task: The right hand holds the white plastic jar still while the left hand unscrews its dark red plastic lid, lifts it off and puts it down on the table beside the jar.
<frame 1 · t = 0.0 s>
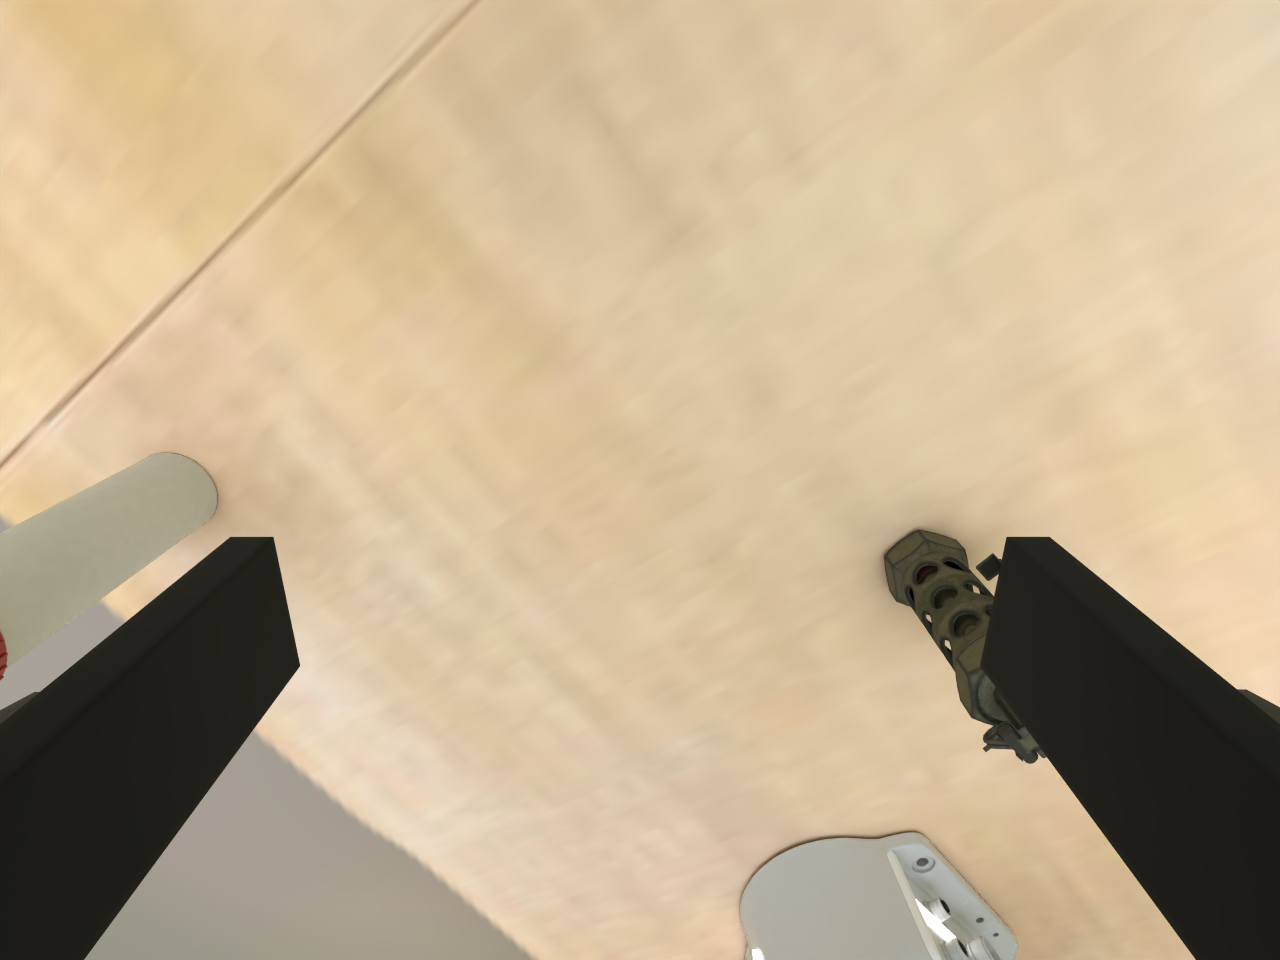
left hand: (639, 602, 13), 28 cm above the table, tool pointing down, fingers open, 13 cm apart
jar: (176, 490, 42), on the table
grenade: (940, 559, 44), on the table
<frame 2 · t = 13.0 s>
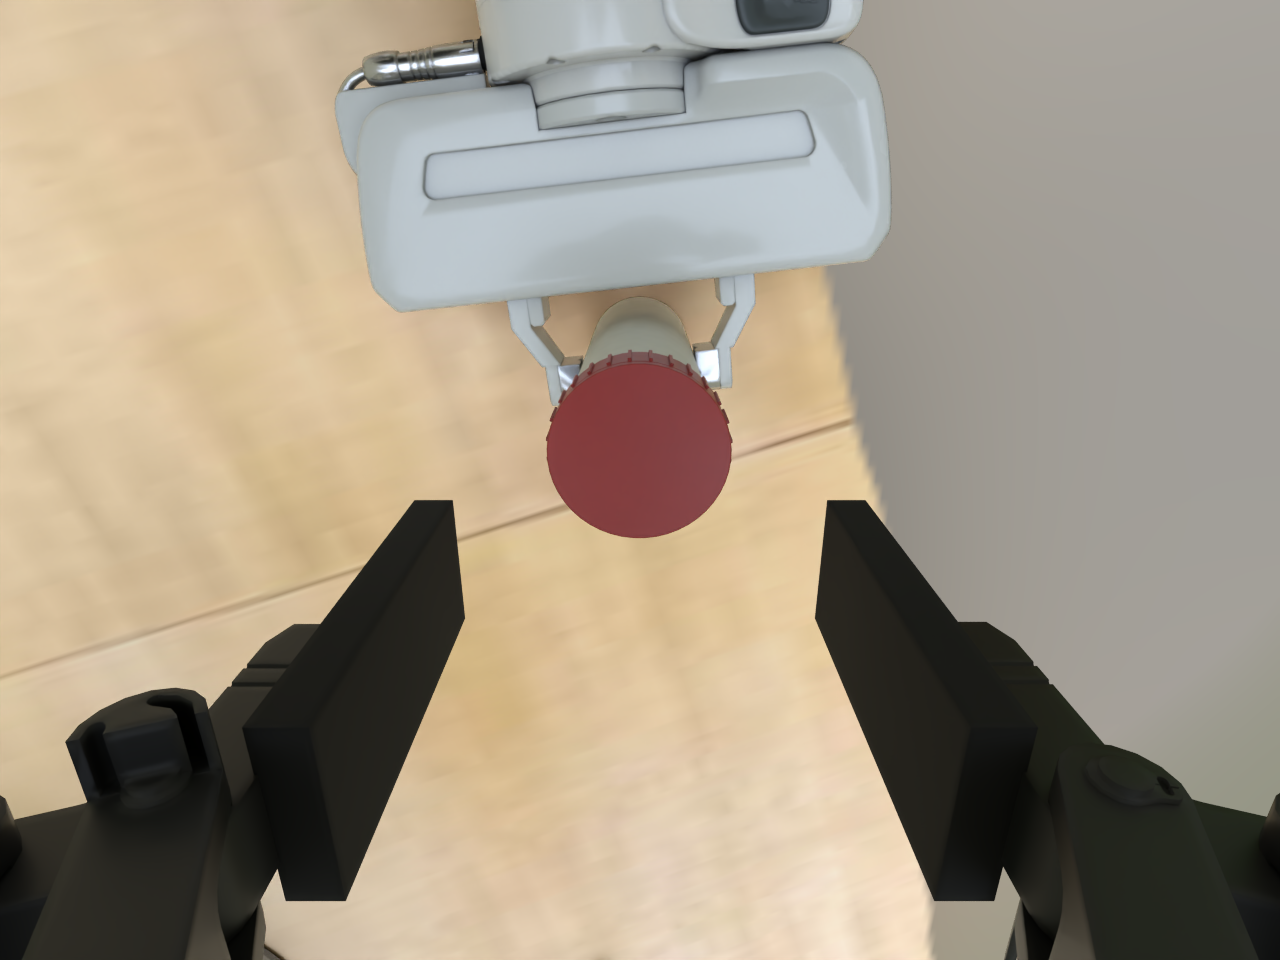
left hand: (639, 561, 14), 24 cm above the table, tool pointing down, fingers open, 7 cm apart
right hand: (642, 394, 31), fingers closed on jar, 5 cm apart
lid: (639, 451, 21), point 17 cm above the table, screwed on, not yet turned
jar: (639, 344, 37), on the table, touching right hand
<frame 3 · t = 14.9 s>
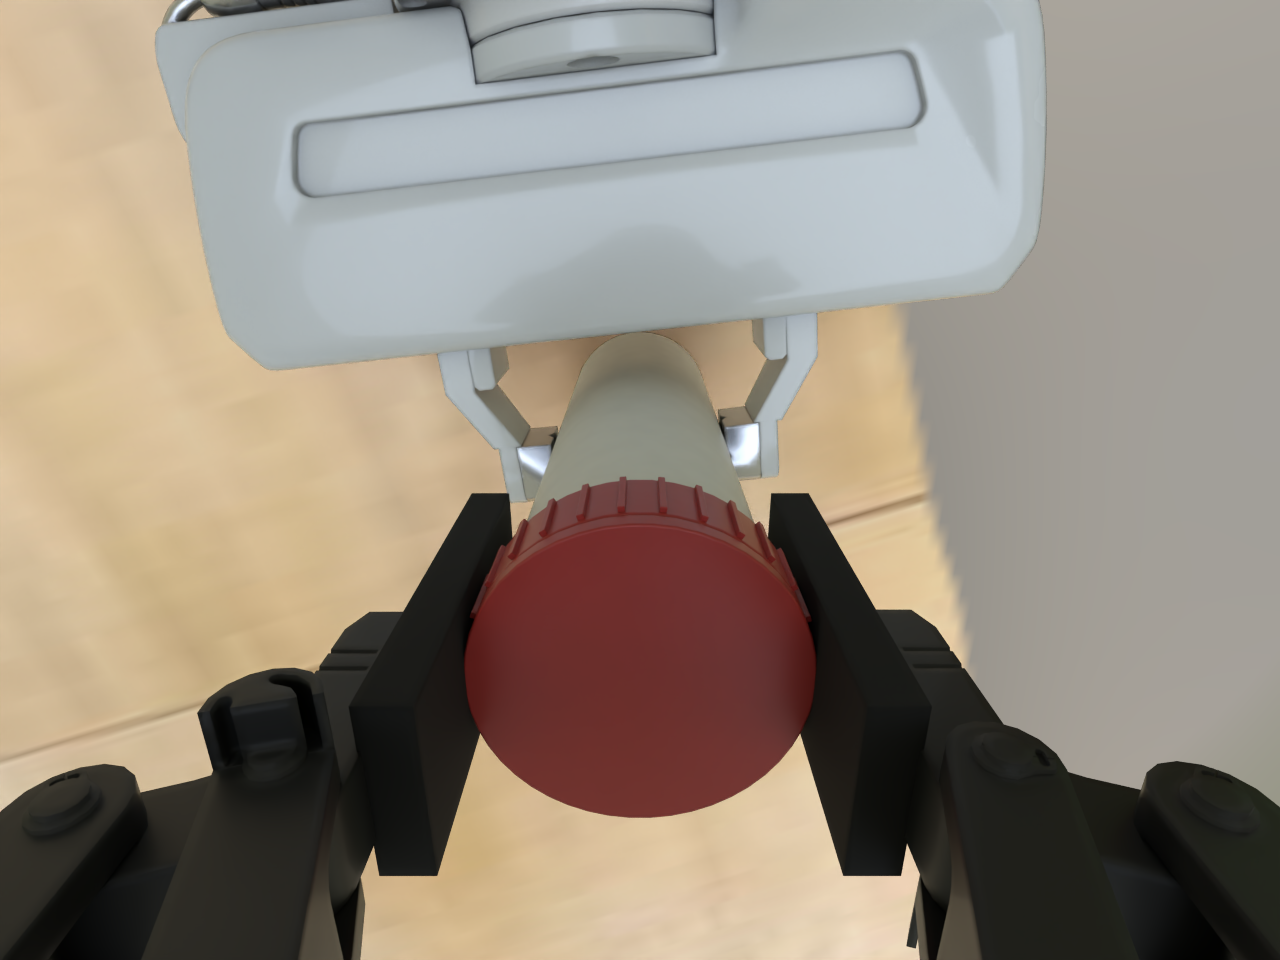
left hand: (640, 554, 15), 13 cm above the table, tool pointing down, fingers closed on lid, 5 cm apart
right hand: (645, 483, 21), fingers closed on jar, 5 cm apart
lid: (640, 670, 11), point 17 cm above the table, screwed on, not yet turned, touching left hand
jar: (640, 396, 27), on the table, touching right hand
when the left hand's fingers open (13 cm above the table, at t = 16.3 s): lid stays where it is, point 17 cm above the table.
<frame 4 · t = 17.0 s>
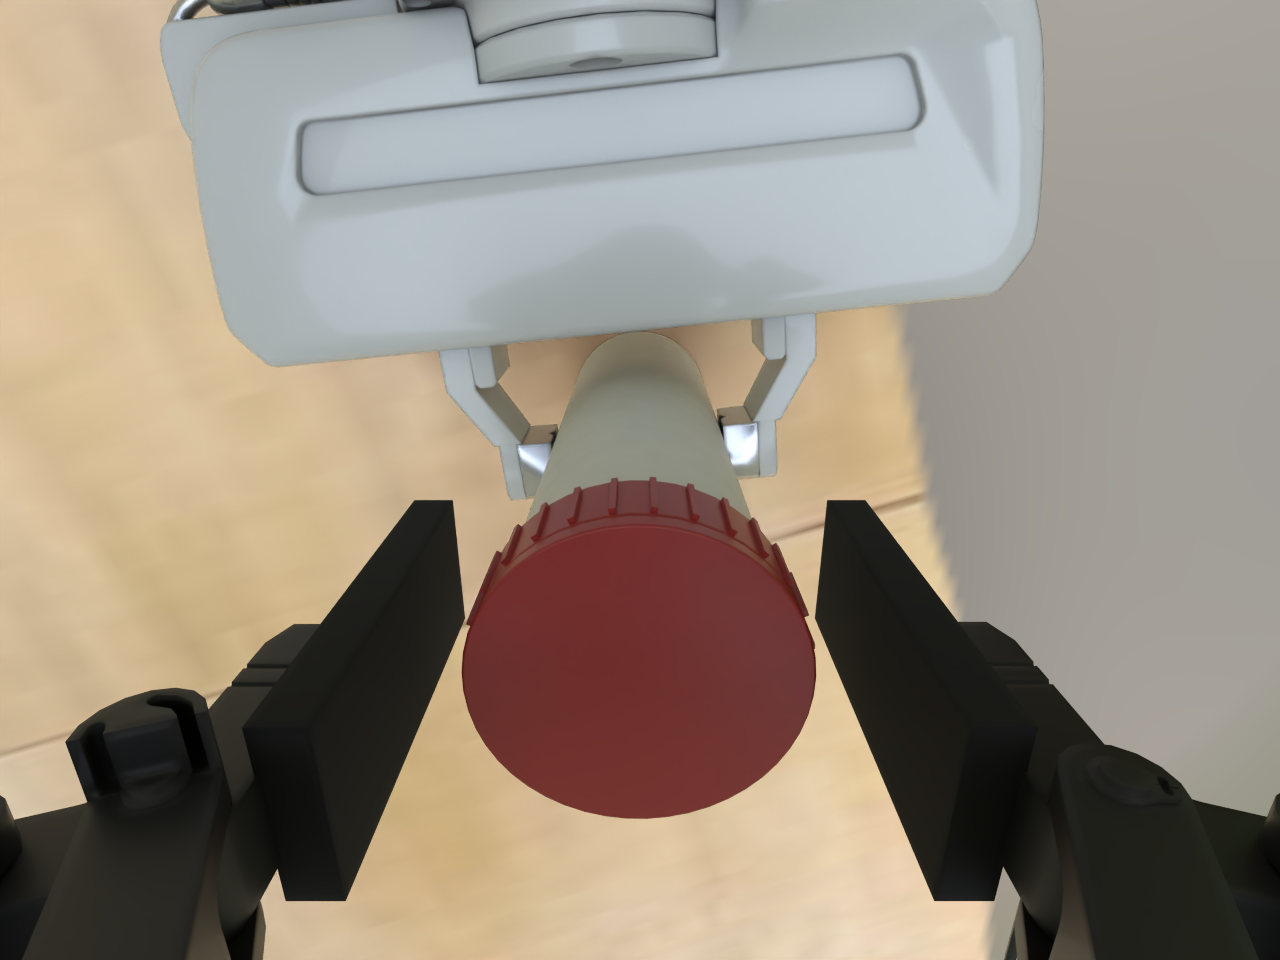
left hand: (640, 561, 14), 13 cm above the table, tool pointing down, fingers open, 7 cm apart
right hand: (644, 482, 21), fingers closed on jar, 5 cm apart
lid: (638, 671, 11), point 17 cm above the table, turned 67° so far, risen 0.2 cm, still on its thread
jar: (639, 395, 27), on the table, touching right hand
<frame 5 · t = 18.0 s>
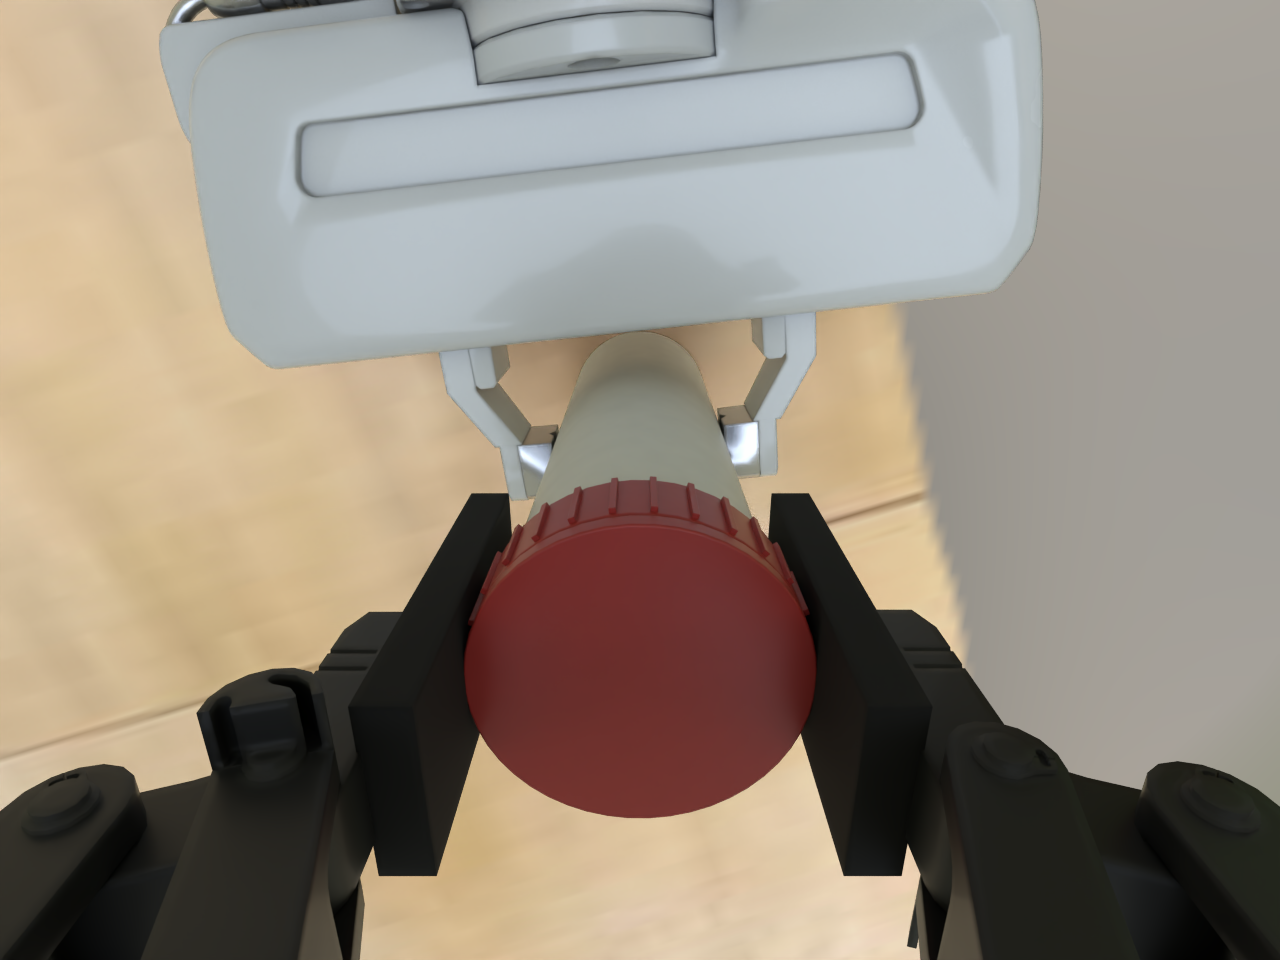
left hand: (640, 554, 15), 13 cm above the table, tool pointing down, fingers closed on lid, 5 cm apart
right hand: (644, 481, 21), fingers closed on jar, 5 cm apart
lid: (640, 671, 11), point 17 cm above the table, turned 67° so far, risen 0.2 cm, still on its thread, touching left hand
jar: (640, 395, 27), on the table, touching right hand
when the left hand's fingers open (0 cm above the table, at t = 24.0 s): lid drops 3 cm, point 1 cm above the table.
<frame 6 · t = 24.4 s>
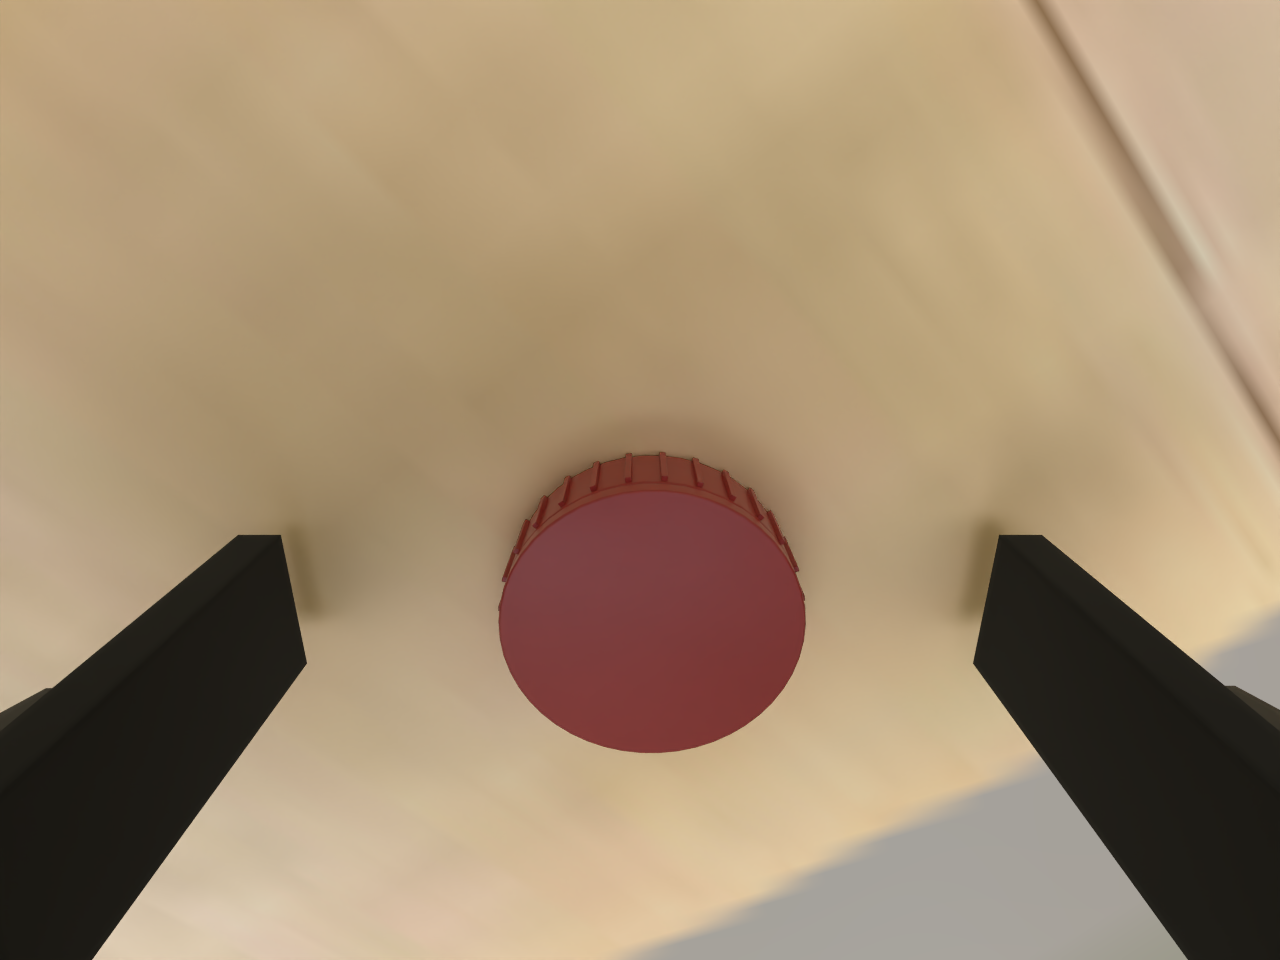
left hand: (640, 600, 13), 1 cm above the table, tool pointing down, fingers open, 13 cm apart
lid: (651, 621, 13), point 1 cm above the table, off its thread
when the right hand's fingers open (7 cm above the table, at t = 25.1 s): jar stays where it is, on the table.
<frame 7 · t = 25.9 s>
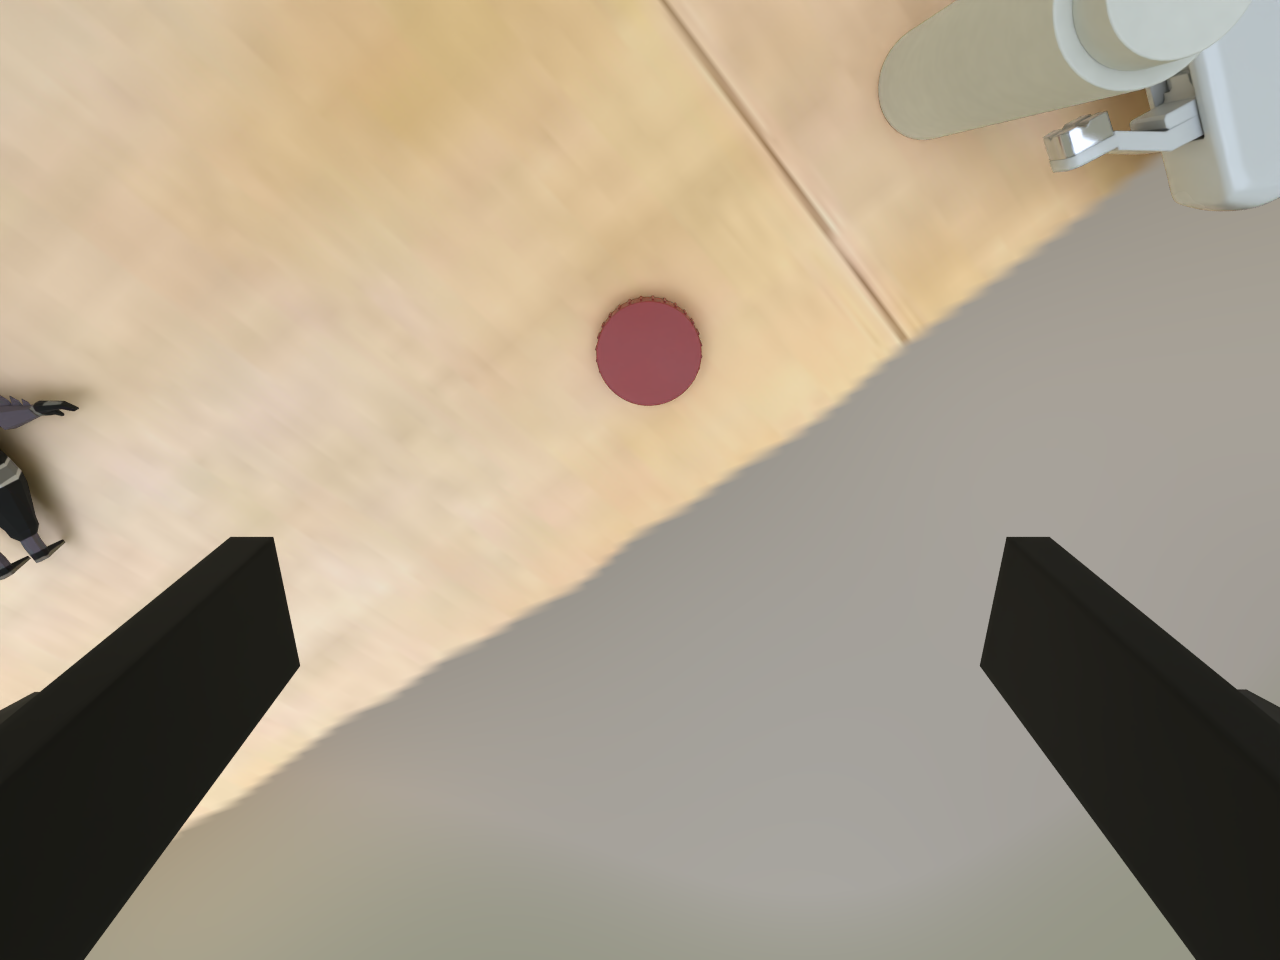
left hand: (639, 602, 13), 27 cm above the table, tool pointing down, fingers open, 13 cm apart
lid: (648, 353, 36), point 1 cm above the table, off its thread
jar: (930, 82, 33), on the table
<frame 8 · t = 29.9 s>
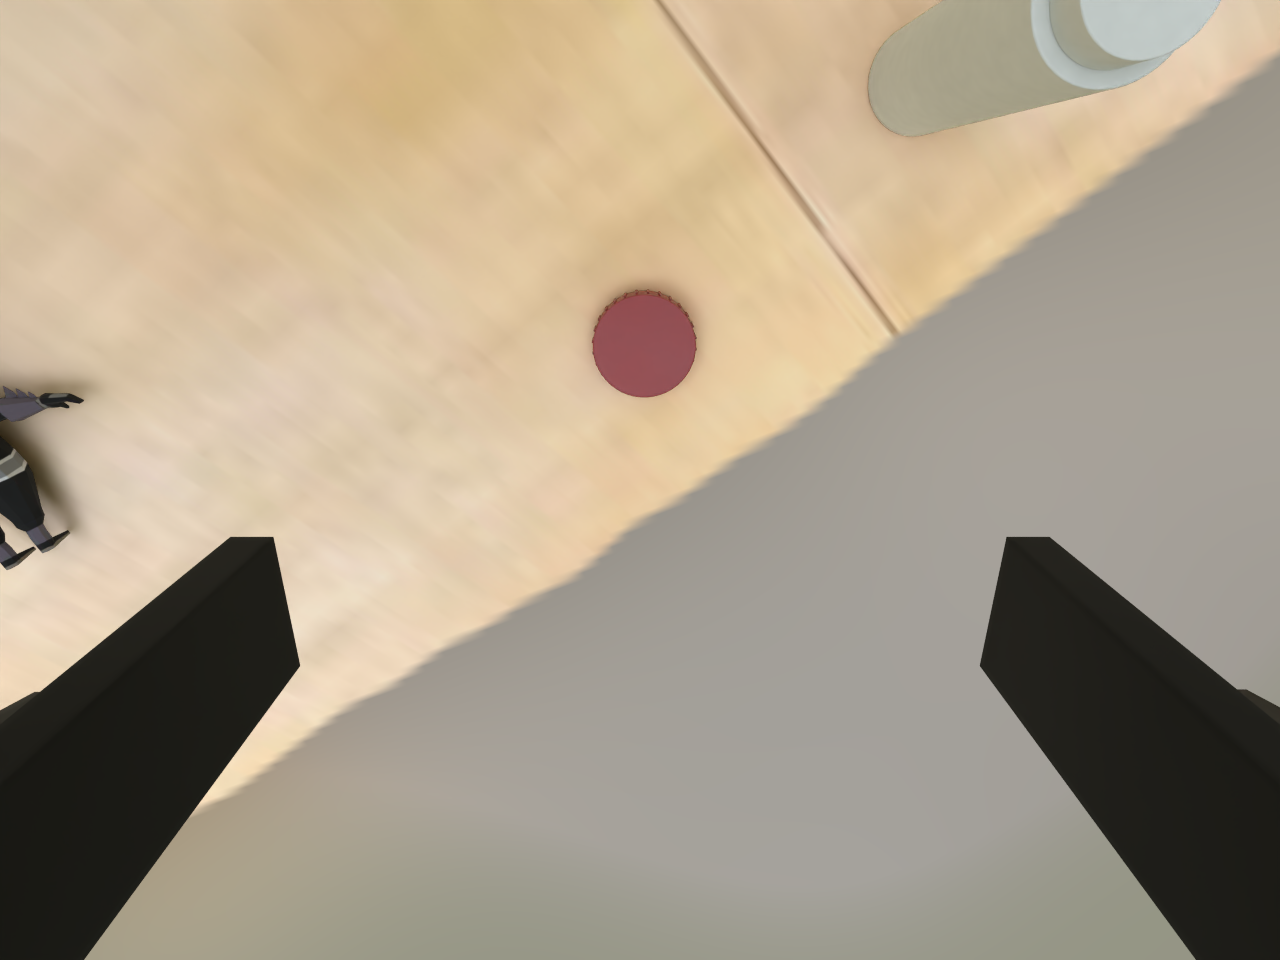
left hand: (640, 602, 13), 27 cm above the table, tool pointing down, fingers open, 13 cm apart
lid: (644, 346, 37), point 1 cm above the table, off its thread
jar: (918, 80, 34), on the table
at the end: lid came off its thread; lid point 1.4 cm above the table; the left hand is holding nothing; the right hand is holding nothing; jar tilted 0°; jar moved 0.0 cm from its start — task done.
